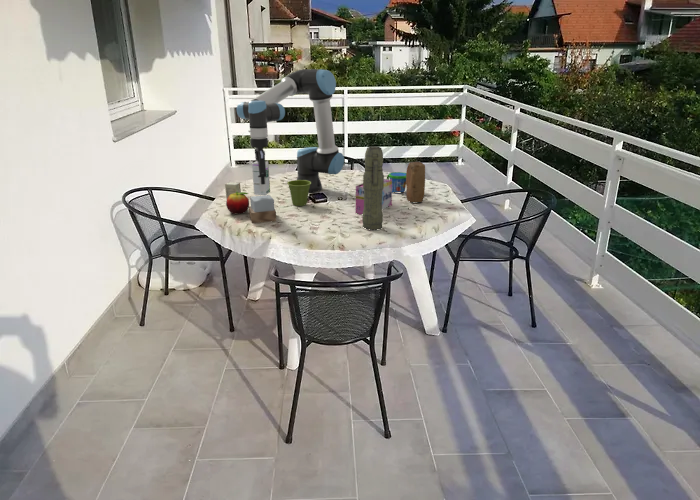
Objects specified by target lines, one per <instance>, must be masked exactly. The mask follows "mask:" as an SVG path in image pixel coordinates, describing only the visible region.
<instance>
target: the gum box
mask: <svg viewBox="0 0 700 500" xmlns="http://www.w3.org/2000/svg"><path fill="white" fill-rule="evenodd" d="M392 201H393V192H392V179H390V178H389V180H388V179H387V178H384V188H383V190H382V209H383V210H385V209H387V208H389V207H391V206H393V202H392ZM390 205H391V206H390ZM388 206H389V207H388ZM386 207H387V208H386ZM384 208H385V209H384ZM354 210H355V214H356V213H358V214H357V215H360V214H363V210H364V189H363V183H361V184H358V185H355V209H354Z"/></svg>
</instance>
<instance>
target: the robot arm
mask: <svg viewBox="0 0 700 500" xmlns="http://www.w3.org/2000/svg"><path fill="white" fill-rule="evenodd" d="M336 87H337V81H336V78H335V75H334V73H332V72H331V71H330V70H328V69H323V68H321V69H318V68H317V69H315V68H314V69H313V68H312V69H309V68H302V69H299V70H296V71H294V72H291V73H289V74H288V75H286V76H284V77H282V78H281V80H280V82H278V83H276V84H275V85H274V86H271V87H270V88H269V89H267V90H265V91H264V92H263V93H261V94H259V95H258V96H256V97H254V98H252V99H251V100H249V101H241V102H238V105H236V113H237V116H238V117H239V118H240V119H243V120H249V130H248V133H249V136H250V140H249V141H250V147H251V148H254V154H255V157H254V158H255V162H256V161H257V162H258V165H259V174H260V175H259V176H258V177H259V183H260V192H261V191H266V167H265V161H266V152H265V150H264V149H265V148H267V147H268V146H269V139H268V135H269V133H268V123H270V122H278V121H281V120H283V119H284V117H285V115H286V110H285V107H284V106H283V105H282V103H280V102H281V101H283V100H285V99H286V98H288V97H293V96H295V95H298V94H307V95H308V98H309V100H310V101H311V102H312V104H313V105H312V106H313V113H314V119H315V127H316V128H315V129H316V135H317V142H318V147H317V146H310V147H303V148H299V149H298V150H297V152H296V162H297V163H296V164H297V168H296V169H297V177H296V180H307V181H310V182H311V184H310V188H309V193H317V192H320V191H322V190H323V184H322V181H321V178H320V175H319V174H327V175H338V174H339V173H340V172H341V171H342V170H343V167H344V163H345V157H344V154H343V153H342V152H339V151H340V150H339V147H338V146H337V145H336V141H335V131H334V125H333V115H332V107H331V100H332V98H333V94H334V93H335V92H336ZM262 173H264V174H262ZM309 193H308V194H309Z"/></svg>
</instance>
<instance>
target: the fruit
mask: <svg viewBox="0 0 700 500" xmlns="http://www.w3.org/2000/svg"><path fill="white" fill-rule="evenodd" d="M248 194H249V193H248V192H244V191H241V193H238V192H236V193H234V194H230V195H229V197H228V199H226V203H225V206H226V209H227V210H228V211H229V212H230V213H231V214H232V215H233V214H234V215H242V214H245V213H246V212H247V211H249V207H250V200H249V198H248V196H247V195H248Z"/></svg>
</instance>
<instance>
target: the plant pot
mask: <svg viewBox="0 0 700 500" xmlns="http://www.w3.org/2000/svg"><path fill="white" fill-rule="evenodd" d="M310 184H311V182H310V181H307V180H297V179H295V180H288V181H287V185H288V190H289V193H290V198H291V203H292V205H293V206H296V207H299V206H300V207H305V206H306V205H308V198H309V188H310Z"/></svg>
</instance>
